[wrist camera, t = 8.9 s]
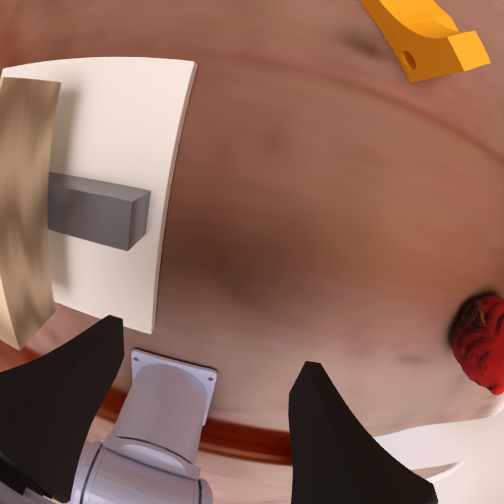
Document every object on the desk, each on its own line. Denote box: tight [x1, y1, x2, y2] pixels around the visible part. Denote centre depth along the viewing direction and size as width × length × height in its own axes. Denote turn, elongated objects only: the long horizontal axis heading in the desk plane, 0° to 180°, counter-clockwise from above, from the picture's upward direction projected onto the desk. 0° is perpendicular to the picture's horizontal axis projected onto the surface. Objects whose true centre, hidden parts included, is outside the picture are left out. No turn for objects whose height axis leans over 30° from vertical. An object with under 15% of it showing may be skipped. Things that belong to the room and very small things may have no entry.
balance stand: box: [1, 57, 198, 334], centre depth 17 cm, size 20×18×4 cm
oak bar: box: [0, 77, 61, 351], centre depth 13 cm, size 16×4×5 cm, turn 166°
